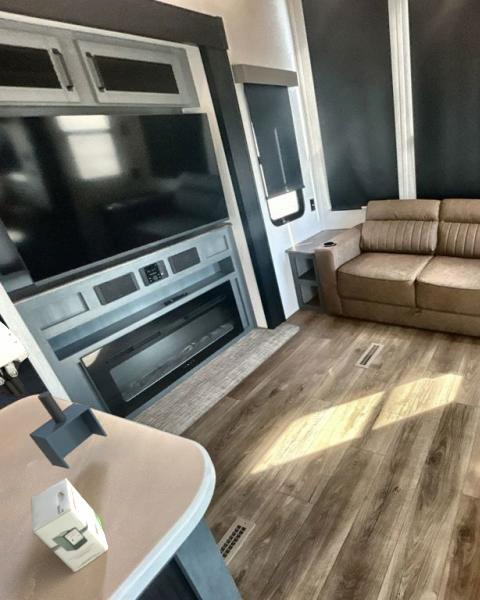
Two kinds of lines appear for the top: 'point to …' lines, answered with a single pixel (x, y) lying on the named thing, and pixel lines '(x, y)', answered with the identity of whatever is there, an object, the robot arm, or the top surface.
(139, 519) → the top surface
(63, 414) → the dustpan
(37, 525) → the ink box
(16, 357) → the robot arm
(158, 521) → the top surface
